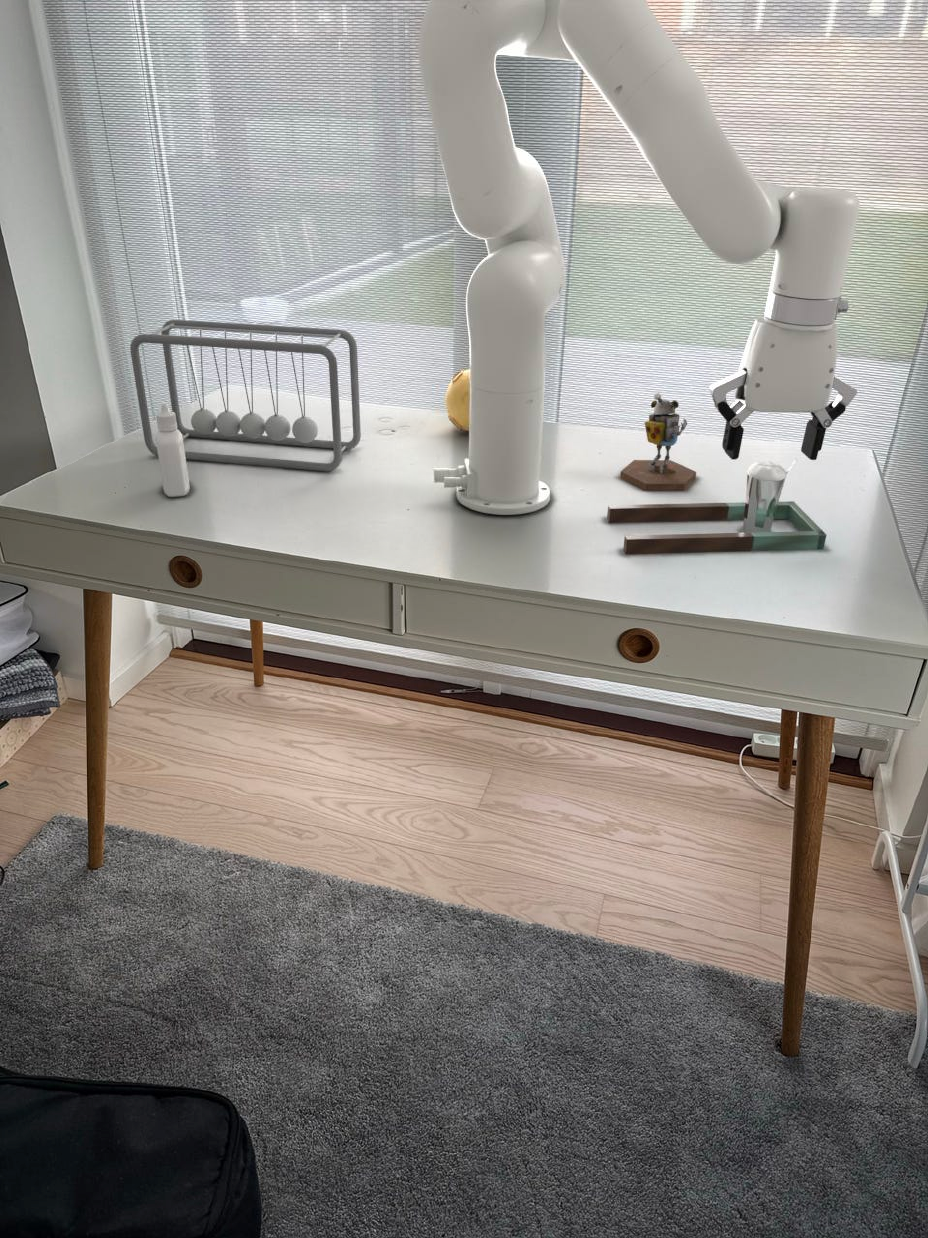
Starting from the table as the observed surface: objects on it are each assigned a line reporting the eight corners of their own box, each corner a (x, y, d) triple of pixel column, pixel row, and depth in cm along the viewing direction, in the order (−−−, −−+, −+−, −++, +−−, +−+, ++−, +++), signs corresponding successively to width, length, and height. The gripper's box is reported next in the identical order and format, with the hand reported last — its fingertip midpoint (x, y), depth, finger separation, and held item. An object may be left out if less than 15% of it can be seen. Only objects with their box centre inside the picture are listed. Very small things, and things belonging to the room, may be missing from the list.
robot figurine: (710, 485, 133) (723, 401, 127) (659, 497, 129) (670, 411, 123) (657, 460, 141) (667, 380, 135) (608, 471, 137) (616, 389, 131)
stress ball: (439, 422, 155) (439, 361, 150) (497, 419, 157) (499, 358, 152) (453, 442, 147) (453, 378, 142) (514, 438, 149) (516, 375, 144)
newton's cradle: (362, 449, 144) (357, 329, 135) (341, 473, 135) (334, 347, 126) (177, 434, 149) (161, 317, 140) (145, 456, 140) (126, 334, 131)
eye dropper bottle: (201, 484, 131) (189, 398, 125) (182, 499, 126) (169, 411, 120) (172, 481, 132) (159, 396, 126) (152, 496, 127) (137, 408, 121)
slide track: (625, 554, 113) (627, 539, 112) (606, 519, 122) (608, 504, 121) (823, 549, 115) (827, 534, 114) (790, 515, 124) (793, 501, 123)
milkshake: (782, 542, 117) (798, 465, 112) (738, 538, 118) (751, 461, 113) (780, 527, 121) (794, 452, 116) (736, 523, 121) (749, 448, 117)
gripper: (859, 304, 110) (825, 445, 118) (714, 300, 108) (690, 444, 117) (890, 319, 103) (852, 467, 112) (736, 316, 102) (709, 467, 110)
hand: (769, 455), depth 114 cm, fingers open, 9 cm apart
